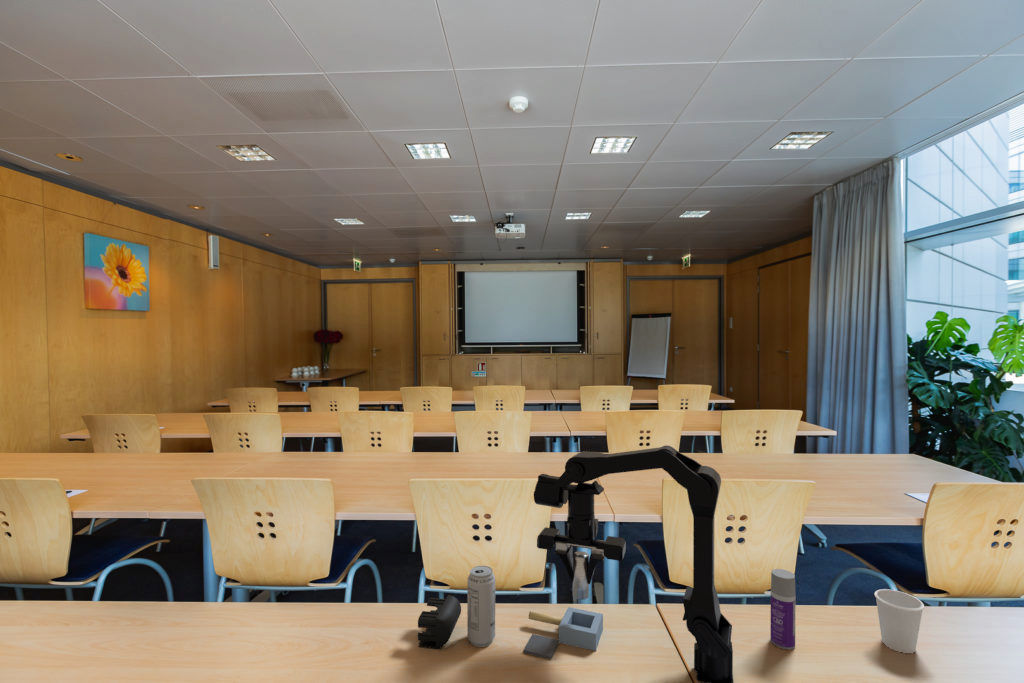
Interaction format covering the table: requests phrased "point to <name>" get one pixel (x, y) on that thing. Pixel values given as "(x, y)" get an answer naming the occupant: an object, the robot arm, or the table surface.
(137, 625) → the table surface
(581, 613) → the blue-grey block with rod
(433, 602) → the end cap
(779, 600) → the container
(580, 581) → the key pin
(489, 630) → the energy drink can
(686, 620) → the robot arm
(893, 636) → the dixie cup
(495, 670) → the table surface
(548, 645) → the mat
